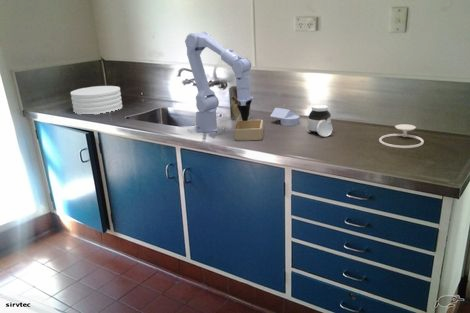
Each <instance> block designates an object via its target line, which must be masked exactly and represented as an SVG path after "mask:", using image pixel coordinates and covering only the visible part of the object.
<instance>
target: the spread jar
mask: <svg viewBox="0 0 470 313" xmlns="http://www.w3.org/2000/svg"><path fill="white" fill-rule="evenodd" d="M307 128H308V131H309V132H310V133H311V134H313V135H319V136H320V137H324V138H325V137H329V136H330V135H331V134H332V133H333V125H332V115H331V112H330V111H329V107H328V105H325V104H314V105H312V106H311V111H310V112H309V114H308V118H307Z"/></svg>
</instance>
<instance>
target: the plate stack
mask: <svg viewBox="0 0 470 313" xmlns="http://www.w3.org/2000/svg"><path fill="white" fill-rule="evenodd" d="M121 95H122V93H121V87H120V86H118V85H117V86H115V85H96V86H90V87H89V86H88V87H82V88H77V89H74V90H72V91H70V96H71V97H70V98H71V104H72V109H73V110H72V111H73V113H74V112H75V113H74V114H76V113H77V114H76V115H81V114H94V115H101V114H100V113H103V114H107V113H106V112H109V113H112V112H111V111H113V112H115V110H117V111H119V110H121V109H123V101H122V96H121ZM118 109H119V110H118Z"/></svg>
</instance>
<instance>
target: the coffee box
mask: <svg viewBox="0 0 470 313" xmlns="http://www.w3.org/2000/svg"><path fill="white" fill-rule="evenodd" d="M228 94H229V96H228V97H229V109H230V120H234V121H236V120H237V118H238V116H239V114H240V111H239V109H238V107H237V105H240V103H239V101H238V100H237V98H238V97H237V85H234V86H233V85H232V86H231V87H229V88H228ZM251 114H252V113H251V109H250V110H249V116H248V120H251V118H252V116H251ZM239 120H242V117H241V118H240V119H239Z"/></svg>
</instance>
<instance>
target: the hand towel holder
mask: <svg viewBox="0 0 470 313" xmlns="http://www.w3.org/2000/svg"><path fill="white" fill-rule="evenodd" d="M394 128H395V129H397V130H398V131H402V133H389V134H385V135H384V134H383V135H382V136H381V137H379V139H378V141H379V144H380V143H381V145H383V146H386V147H390V148H395V149H414V148H419V147H422V146H423V145H424V143H425V141H424V139H423V138H422V137H420V136H417V135H413V134H408V131H409V132H410V131H414V130H416V126H415V125H413V124H406V123H405V124H404V123H403V124H401V123H400V124H396V125H394ZM391 137H403V138H411V139H415V140H419V141H420V143H418V144H410V145H398V144H391V143H387V142H384V141H383V139H386V138H391Z"/></svg>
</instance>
